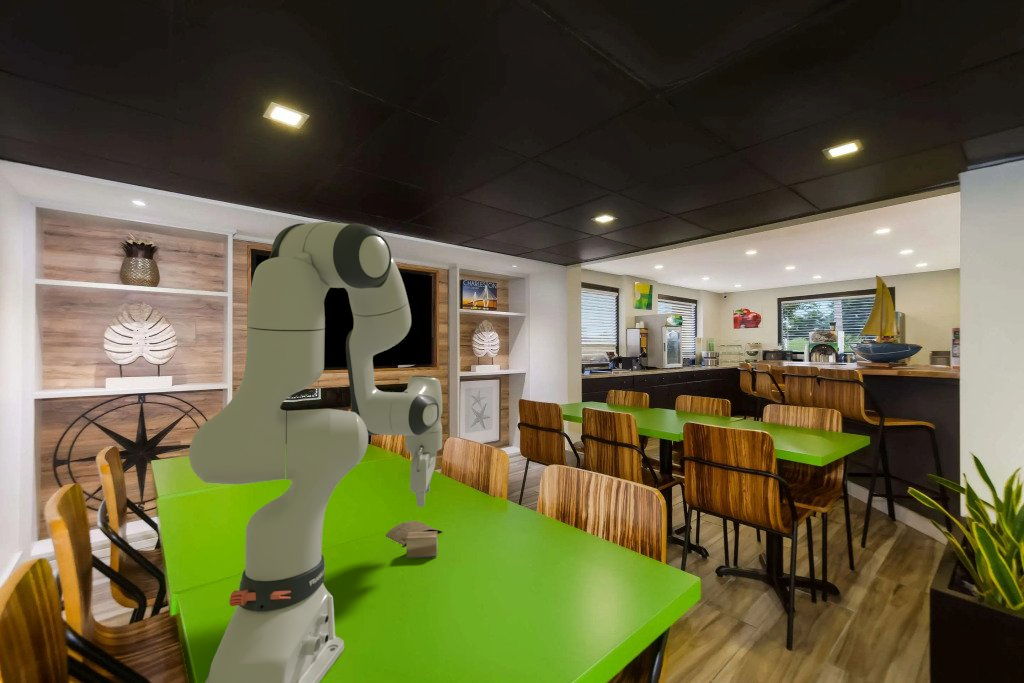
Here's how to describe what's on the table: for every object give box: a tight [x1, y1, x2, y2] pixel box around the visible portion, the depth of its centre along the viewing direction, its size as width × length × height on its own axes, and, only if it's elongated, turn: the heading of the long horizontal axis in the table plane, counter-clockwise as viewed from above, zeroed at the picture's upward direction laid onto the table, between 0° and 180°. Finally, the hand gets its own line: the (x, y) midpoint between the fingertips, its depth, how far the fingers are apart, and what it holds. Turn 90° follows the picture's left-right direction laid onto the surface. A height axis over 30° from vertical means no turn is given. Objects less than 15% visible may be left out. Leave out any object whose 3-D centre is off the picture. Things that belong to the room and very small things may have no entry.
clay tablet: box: [385, 520, 443, 547], centre depth 119 cm, size 14×10×3 cm
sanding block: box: [405, 530, 439, 559], centre depth 106 cm, size 4×7×5 cm, turn 95°
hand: (423, 498), depth 107 cm, fingers open, 8 cm apart
